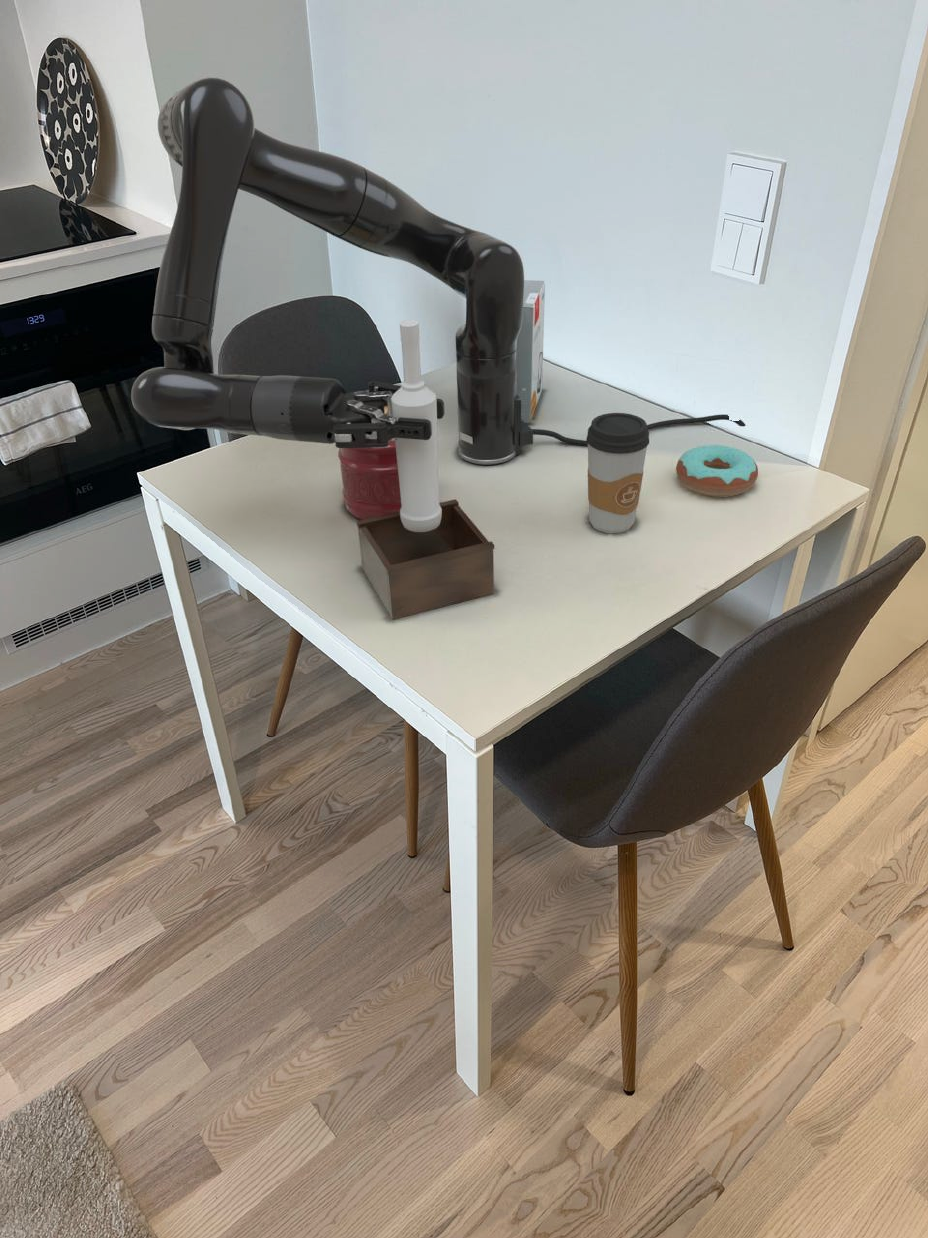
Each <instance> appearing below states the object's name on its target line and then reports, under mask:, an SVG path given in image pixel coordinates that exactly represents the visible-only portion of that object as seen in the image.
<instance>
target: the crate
mask: <svg viewBox="0 0 928 1238" xmlns="http://www.w3.org/2000/svg"><path fill="white" fill-rule="evenodd" d="M439 505H440V507H441V509H442V517H441V521H440V525H439V526H438V527H437V528H436V529H433V530H431V531H427V532H413V531H410V530H408V529H406V528H405V527H404V526H403V524H402V521H401V517H400V512H396V513H391V514H387V515H382V516H378V517H373V518H369V519H364V520H362V519H359V520H356V522H355V523H356V526H357V533H358V541H359V550H360V560H361V569H362V571H363V572H364V574H365V575H366V577H367V579H368V581H369V582H370V583H371V586H372V587H373V589H374V591H375V592H376V594H377V596H378V598H379V599H380V601H381V602H382V604H383V607H385V609H386V611H387V613H388V615H389V616H390V617H391V619H392V620H397V619H400V618H404V617H408V616H413V615H416V614H420V613H424V612H428V611H431V610H436V609H440V608H443V607H448V606H450V605H454V604H460V603H463V602H466V601H471V600H474V599H479V598H482V597H486V596H490V595H494V594H495V590H494V589H495V588H494V587H495V584H494V583H495V580H494V579H495V576H494V575H495V574H494V573H495V572H494V571H495V569H494V550H495V544H494V543H493V541H489V540H488V538H486V536H485V535H484V534H483V533H482V531H480V529H479V528H478V527H477V525H476V524H475V523H474V522H473V521H472V520H471V518H470V517H469V516H468V515H467V514H466V512H465V511H464V510H463V508H461V506H459V501H458V499H456V498H455V499H451V500H446V501H441V502H439Z"/></svg>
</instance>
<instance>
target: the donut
mask: <svg viewBox="0 0 928 1238" xmlns="http://www.w3.org/2000/svg"><path fill="white" fill-rule="evenodd" d="M675 471H676V476H677V479H678V481H679V482H680V483H681V485H683V486H684V487H685V488H687V489H688V490H690V491H693V492H695V493H697V494H700V495H703V496H708V497H716V498H717V497H719V498H725V497H732V496H737V495H740V494H743V493H745V492H747V491H749V490H750V489H751V488H752V487H753V486H754V484H755V483H756V481H757V480H758V477H759V467H758V464H757V463H756V461H755V459H754V458H753V457H752V456H751V455H750V454H748V453H747V452H746V451H743V450H741V449H738V448H735V447H730V446H727V445H719V444H710V445H709V444H707V445H701V446H700V445H699V446H696V447H693V448H690V449H689V450H686V451H685V452H684V453H683V454H682V455H681V456H680V457H679V458H678V460H677V463H676V467H675Z"/></svg>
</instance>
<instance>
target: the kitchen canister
mask: <svg viewBox="0 0 928 1238" xmlns="http://www.w3.org/2000/svg"><path fill="white" fill-rule="evenodd" d="M387 411H388V409H387V406H384V412H385V414H386V413H387ZM367 439H369V438H367ZM337 453H338V454H337V457H338V460H339V463H340V472H341V473H340V474H341V480H342V499H343V502H344V504H345V507H346V511H348V513H350V514H351V515H352V516H353V517H355V518H357V519H359V520H364V519H369V518H373V517H378V516H382V515H387V514H391V513H396V512H400V510H401V507H402V504H401V494H400V484H399V474H398V464H397V454H396V444H395V441H388V446H387V447H378V448H338V452H337Z"/></svg>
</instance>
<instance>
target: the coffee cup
mask: <svg viewBox="0 0 928 1238" xmlns="http://www.w3.org/2000/svg"><path fill="white" fill-rule="evenodd" d="M647 425H648V424H647V421H646V420H645V419H643V417H640V416H637V415H635V414H632V413H627V412H626V413H625V412H609V413H604V414H600V415H597V416H596V417H594V418H593V419H592V420H591V423H590V426H589V427H588V429H587V435H586V440H585V441H587V443H588V446H587V500H588V520H589V522H590V524H591V527H593V529H595V530H597V531H599V532H601V533H606V534H622V533H624V532H627V531H629V530H630V529H631V528H632V527H633V525H634V523H635V521H636V516H637V509H638V505H639V501H640V495H641V490H642V483H643V477H644V469H645V468H644V467H645V463H646V462H645V461H646V456H647V449H648V446H649V445H650V430H648V429H647Z"/></svg>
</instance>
